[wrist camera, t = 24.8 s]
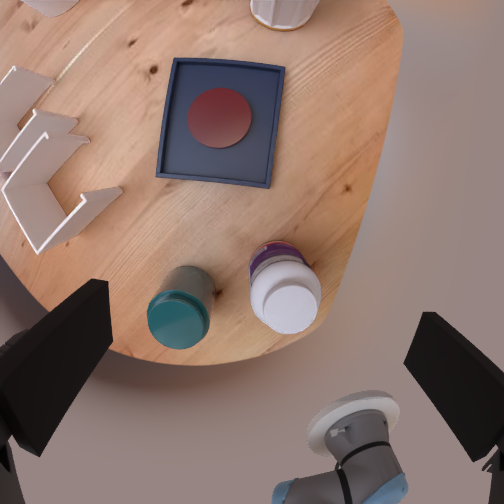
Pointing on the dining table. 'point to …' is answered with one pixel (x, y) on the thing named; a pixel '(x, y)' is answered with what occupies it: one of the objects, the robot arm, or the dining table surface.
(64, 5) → the tall pillar cylinder
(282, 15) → the cup
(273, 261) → the pill bottle
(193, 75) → the tray
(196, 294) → the jar
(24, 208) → the storage container
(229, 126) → the lid
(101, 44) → the dining table surface
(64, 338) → the robot arm
